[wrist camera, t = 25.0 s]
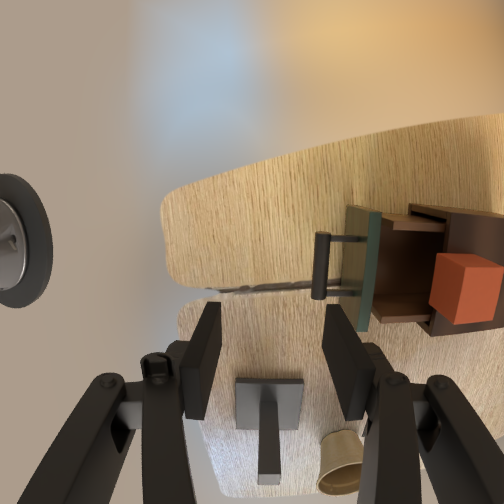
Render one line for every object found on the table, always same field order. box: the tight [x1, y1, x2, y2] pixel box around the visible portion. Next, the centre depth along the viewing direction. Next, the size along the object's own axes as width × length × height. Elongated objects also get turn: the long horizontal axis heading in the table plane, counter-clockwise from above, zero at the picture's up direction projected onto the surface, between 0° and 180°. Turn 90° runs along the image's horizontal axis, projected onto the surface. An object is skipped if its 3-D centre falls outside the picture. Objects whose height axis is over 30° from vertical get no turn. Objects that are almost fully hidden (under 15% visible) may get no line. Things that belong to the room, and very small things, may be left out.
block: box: [429, 253, 504, 325], centre depth 23 cm, size 5×5×5 cm
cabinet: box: [408, 203, 504, 337], centre depth 30 cm, size 15×13×10 cm
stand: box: [235, 378, 304, 485], centre depth 34 cm, size 9×9×14 cm
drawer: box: [311, 205, 447, 332], centre depth 30 cm, size 18×11×8 cm, turn 89°
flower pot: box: [316, 430, 364, 496], centre depth 38 cm, size 9×9×9 cm
